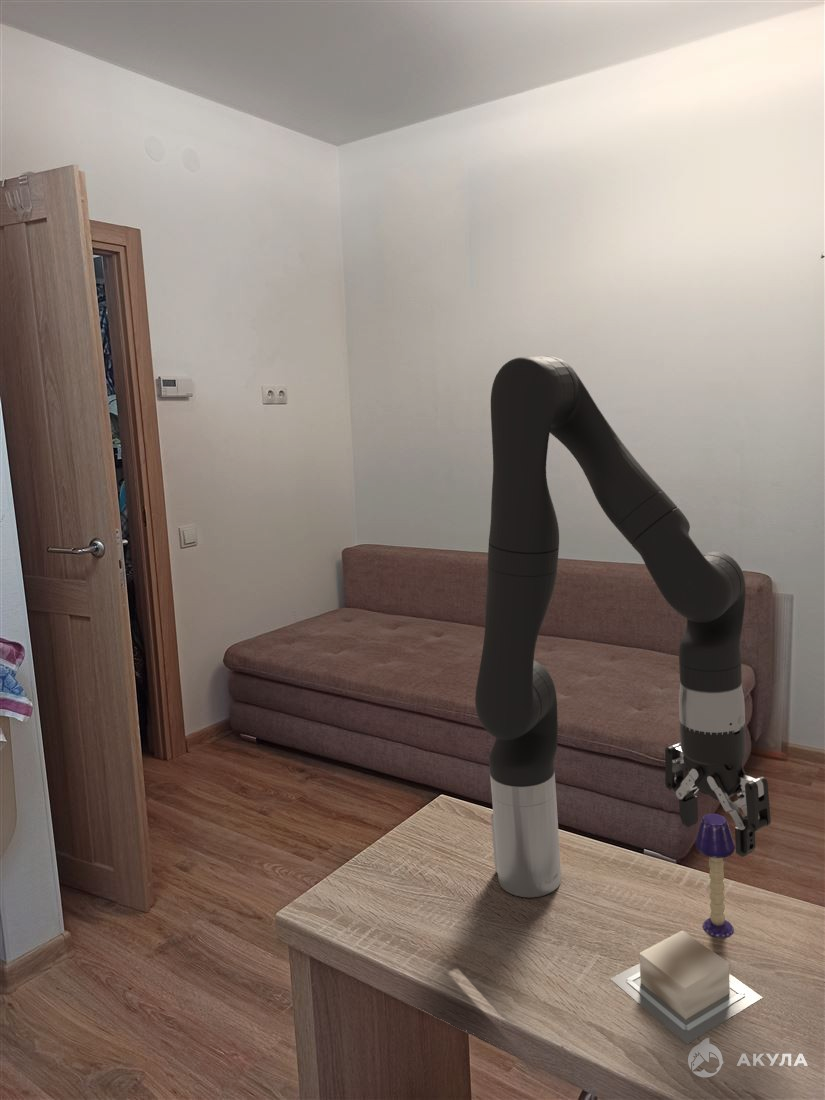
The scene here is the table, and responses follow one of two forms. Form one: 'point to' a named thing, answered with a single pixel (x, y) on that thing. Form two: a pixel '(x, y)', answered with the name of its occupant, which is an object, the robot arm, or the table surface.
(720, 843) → the toy lamp
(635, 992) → the slate board
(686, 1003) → the cream block
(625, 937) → the table surface
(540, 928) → the table surface
